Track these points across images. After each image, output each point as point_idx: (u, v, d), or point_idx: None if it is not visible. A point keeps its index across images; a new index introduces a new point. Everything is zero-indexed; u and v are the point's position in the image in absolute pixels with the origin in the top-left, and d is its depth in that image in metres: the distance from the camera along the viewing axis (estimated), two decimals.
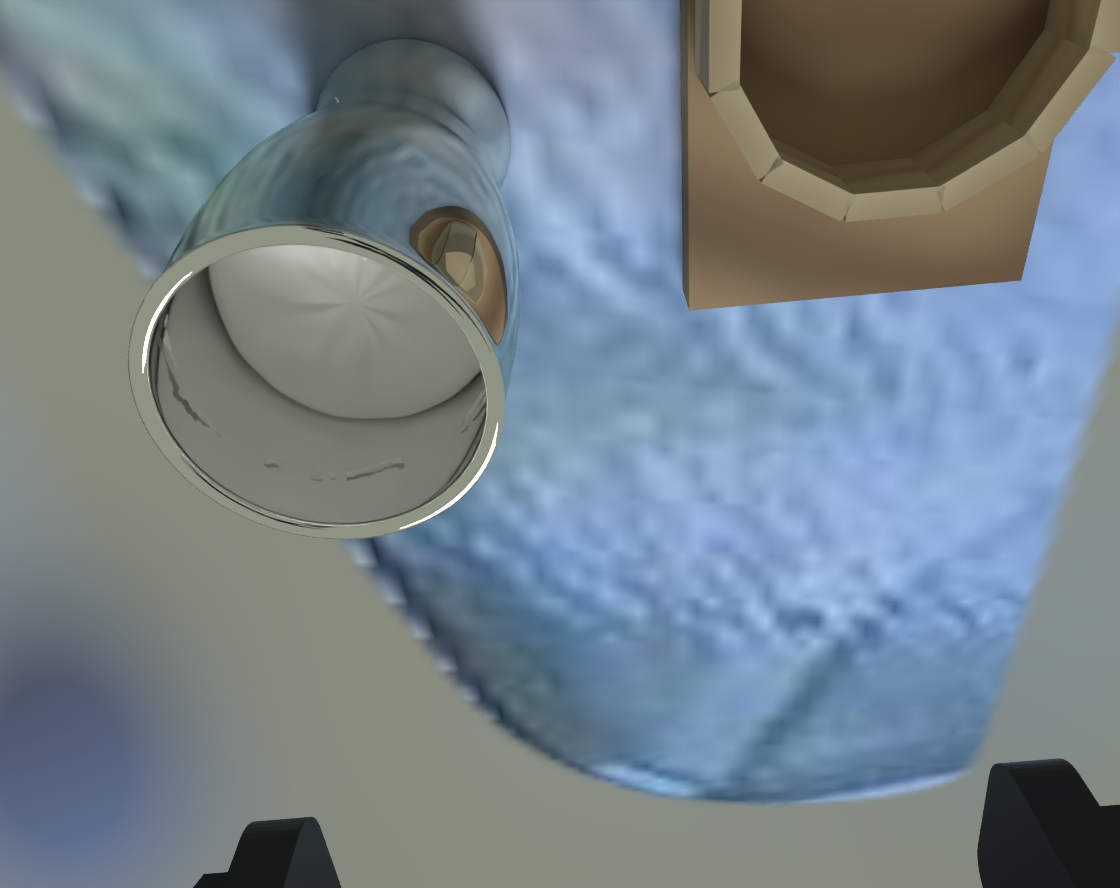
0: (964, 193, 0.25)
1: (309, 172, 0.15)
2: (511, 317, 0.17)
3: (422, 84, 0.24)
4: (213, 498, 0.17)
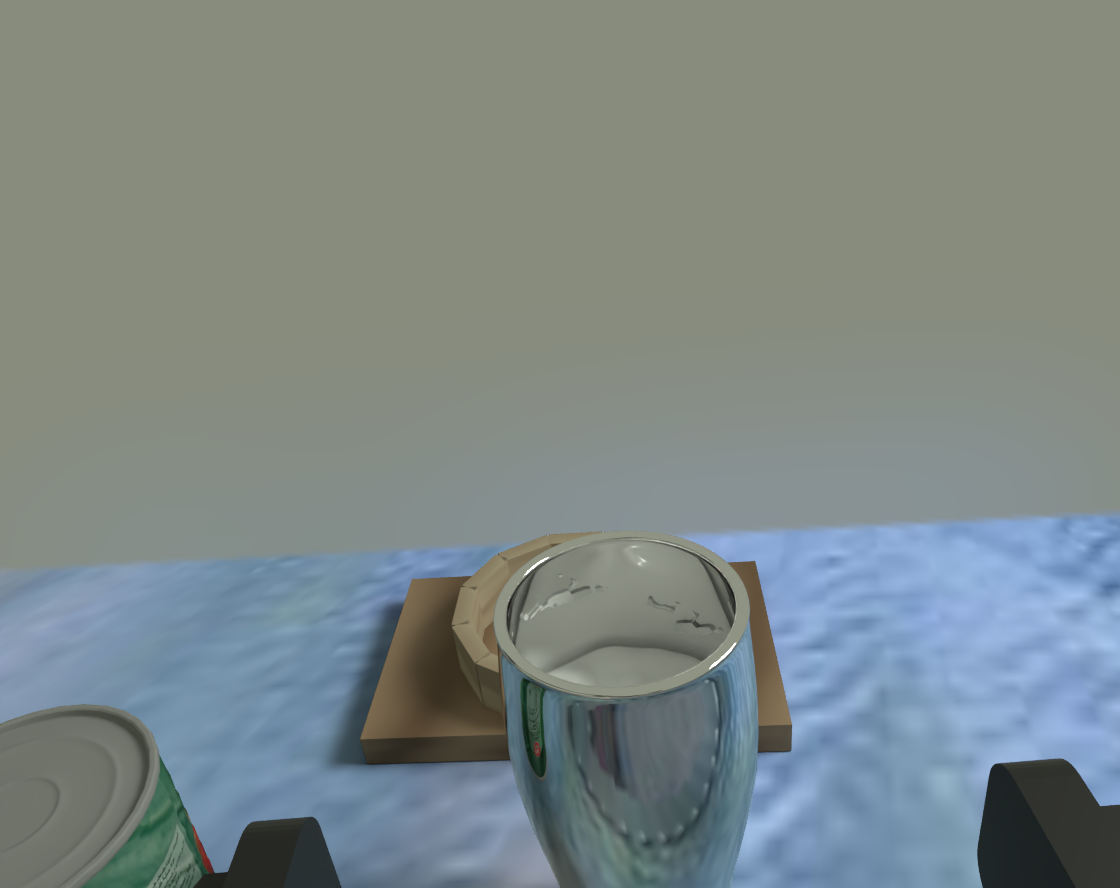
0: None
1: None
2: None
3: None
4: (702, 669, 0.20)
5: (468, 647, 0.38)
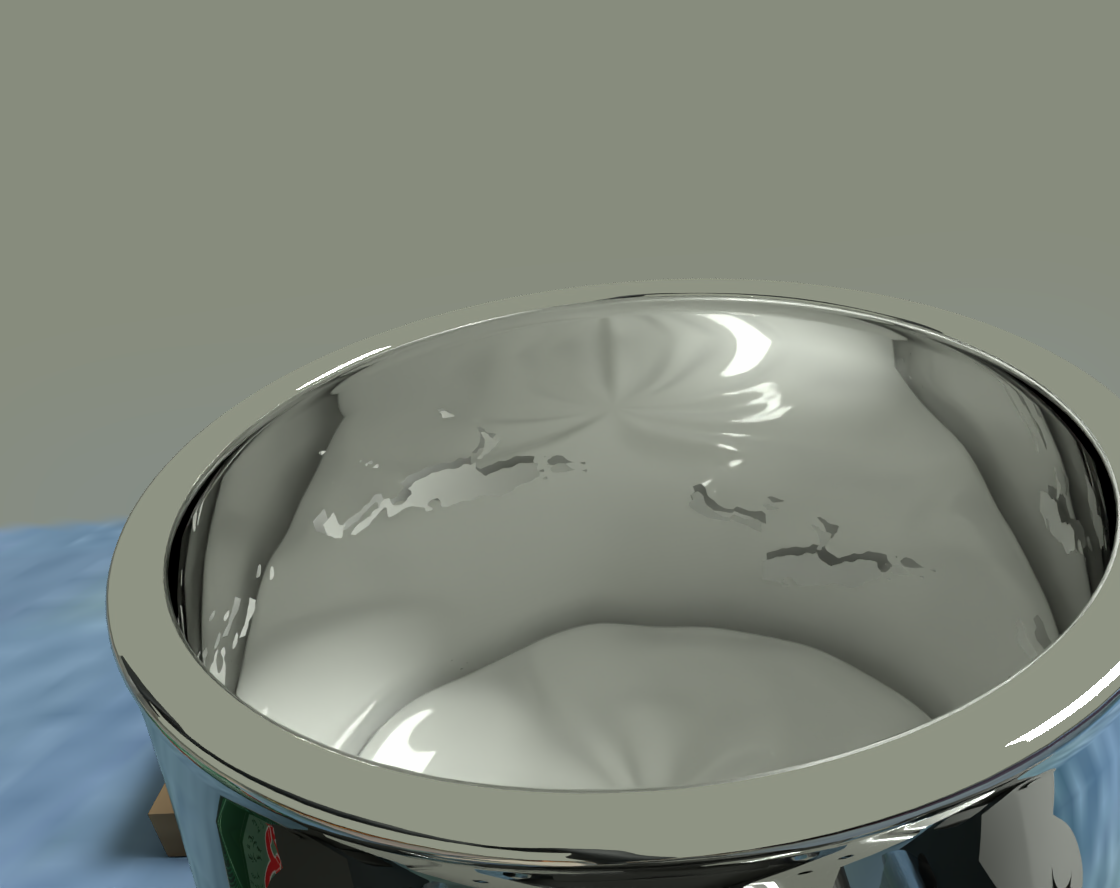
0: None
1: None
2: None
3: None
4: (1088, 679, 0.04)
5: None
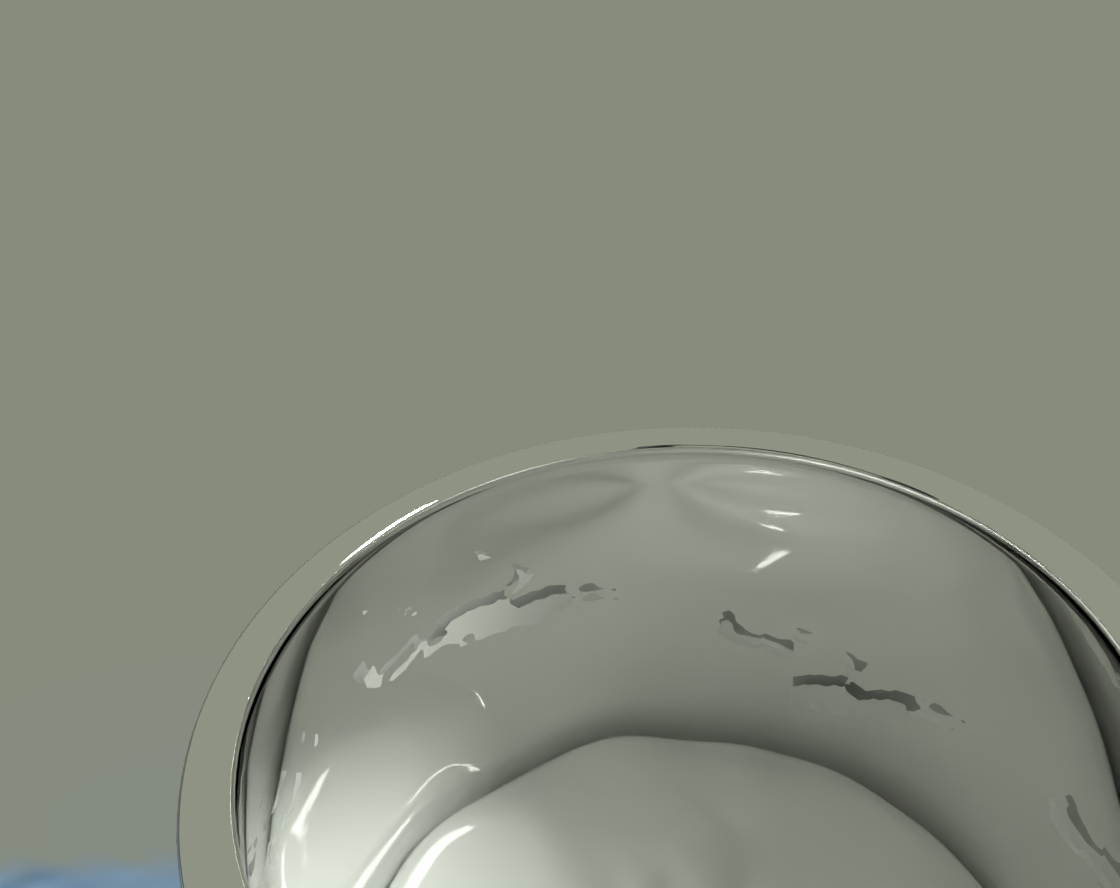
0: None
1: None
2: None
3: None
4: None
5: None
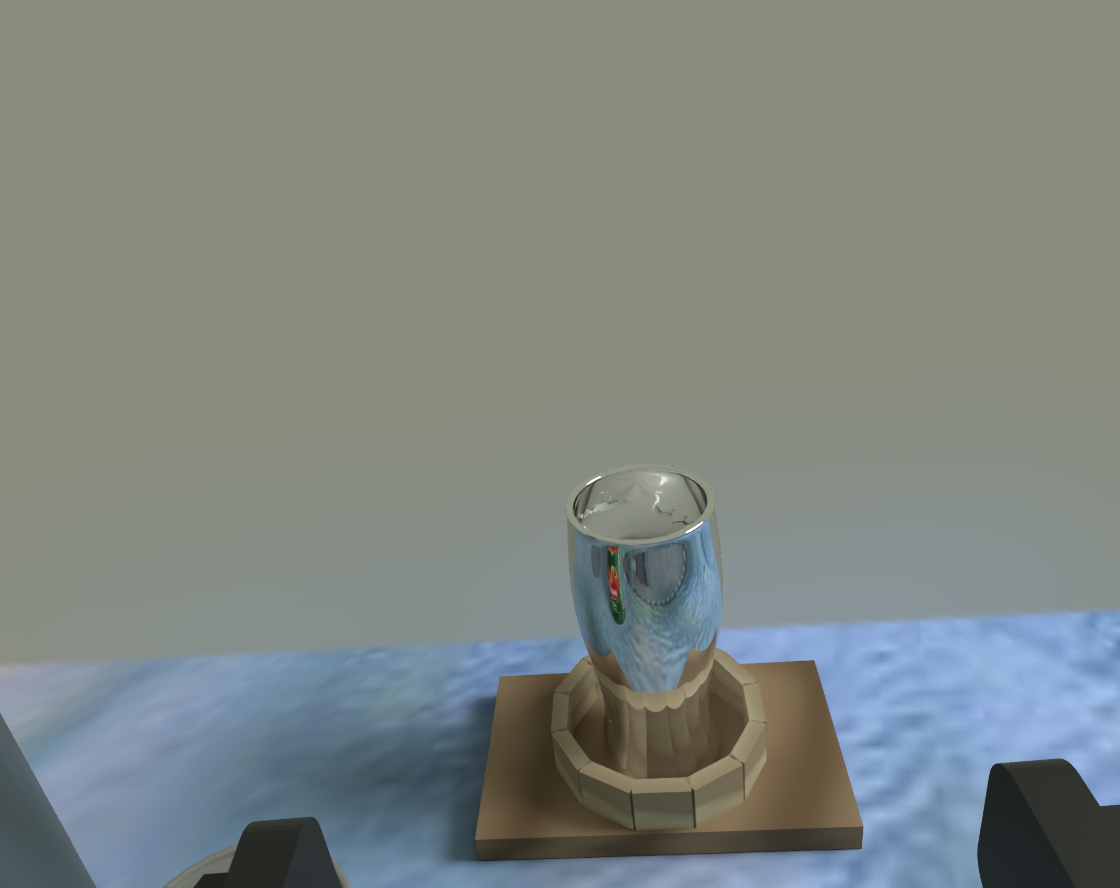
0: (746, 675, 0.46)
1: None
2: None
3: None
4: (687, 529, 0.37)
5: (569, 754, 0.43)
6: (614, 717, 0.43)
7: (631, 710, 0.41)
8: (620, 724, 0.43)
